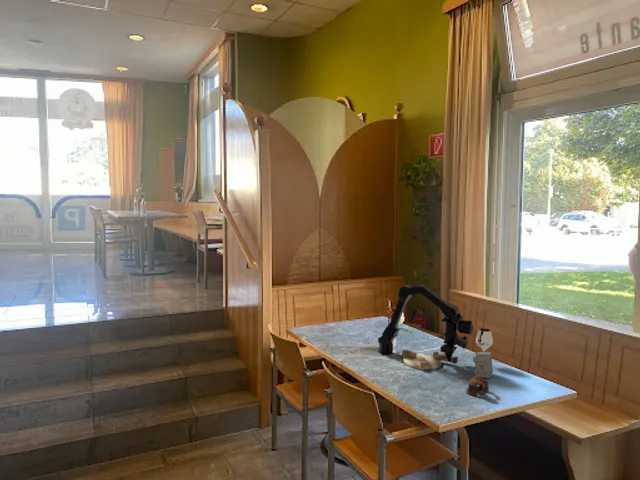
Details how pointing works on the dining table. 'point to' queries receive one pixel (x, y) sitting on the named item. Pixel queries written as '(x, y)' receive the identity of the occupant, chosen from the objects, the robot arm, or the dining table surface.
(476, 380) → the reddish brown arched figure
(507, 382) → the dining table surface
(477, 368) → the incense holder
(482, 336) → the wineglass
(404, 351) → the stool seat
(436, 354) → the folding leg
